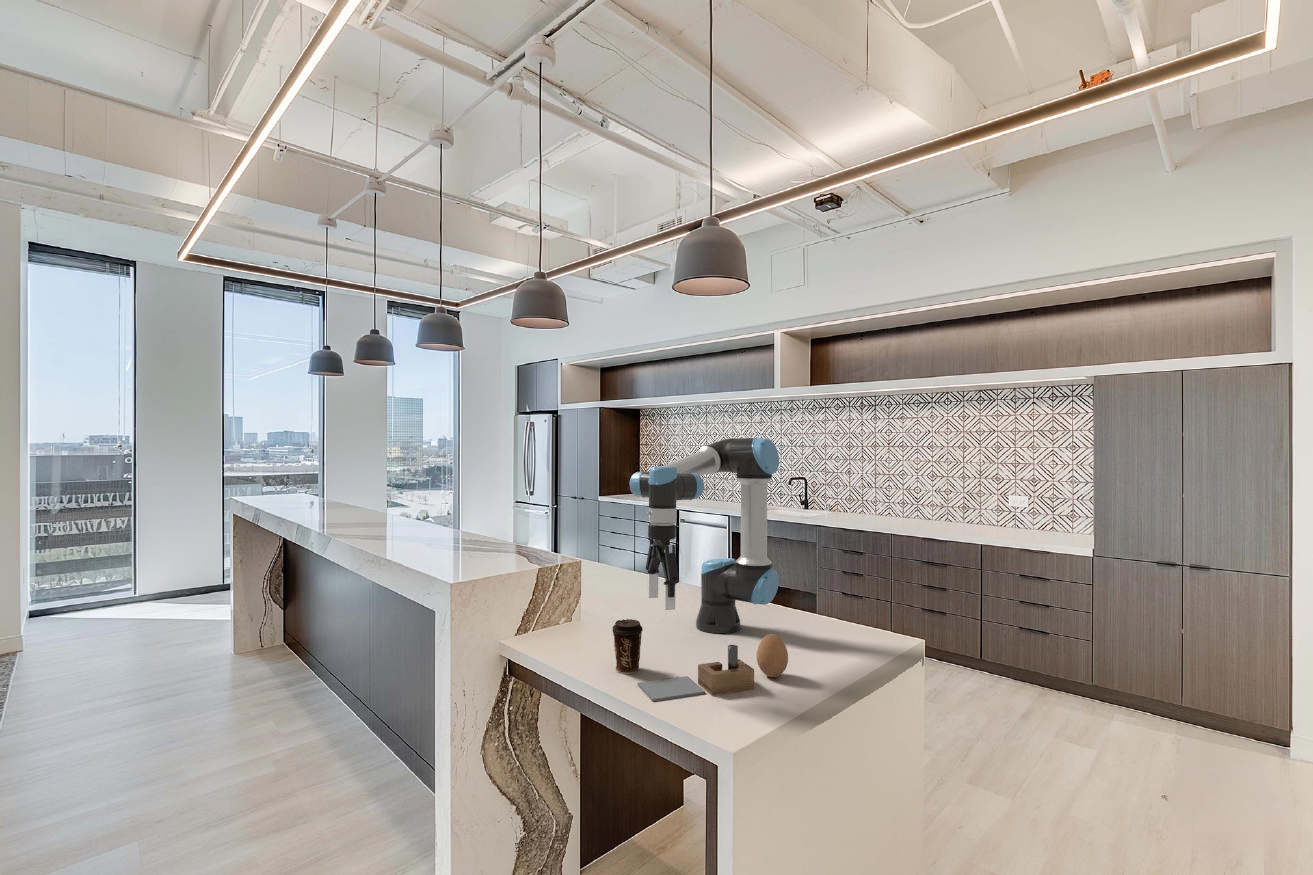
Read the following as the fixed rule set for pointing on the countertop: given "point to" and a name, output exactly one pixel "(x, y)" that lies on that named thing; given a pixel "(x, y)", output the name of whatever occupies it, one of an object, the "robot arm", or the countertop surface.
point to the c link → (725, 678)
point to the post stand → (732, 657)
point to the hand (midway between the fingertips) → (661, 603)
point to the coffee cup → (627, 645)
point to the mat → (670, 688)
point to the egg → (772, 655)
